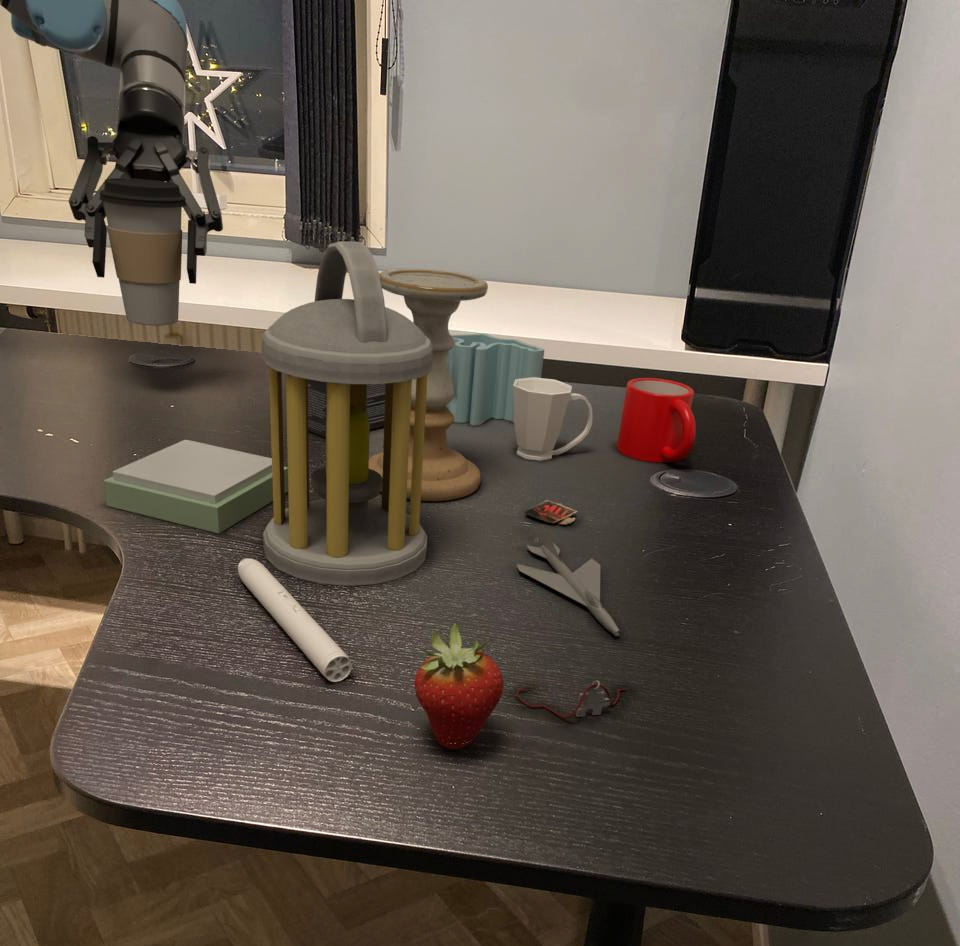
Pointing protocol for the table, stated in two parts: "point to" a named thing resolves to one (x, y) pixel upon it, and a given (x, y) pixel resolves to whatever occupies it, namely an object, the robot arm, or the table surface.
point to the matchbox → (551, 512)
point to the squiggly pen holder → (489, 375)
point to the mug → (657, 421)
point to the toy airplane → (571, 580)
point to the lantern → (347, 430)
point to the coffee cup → (146, 246)
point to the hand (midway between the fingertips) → (145, 273)
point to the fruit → (457, 689)
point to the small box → (319, 406)
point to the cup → (543, 416)
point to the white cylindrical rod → (295, 621)
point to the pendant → (584, 700)
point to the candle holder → (435, 377)
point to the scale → (194, 485)
